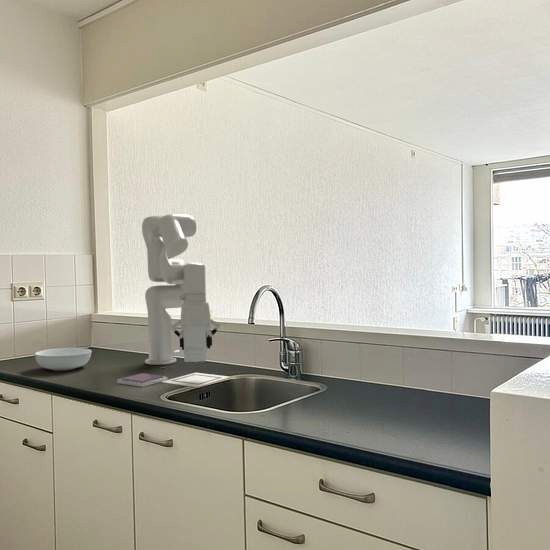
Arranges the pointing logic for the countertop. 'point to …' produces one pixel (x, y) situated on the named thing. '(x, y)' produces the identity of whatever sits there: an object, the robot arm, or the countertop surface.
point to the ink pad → (142, 379)
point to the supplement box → (195, 344)
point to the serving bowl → (63, 358)
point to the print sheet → (196, 379)
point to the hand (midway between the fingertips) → (196, 348)
